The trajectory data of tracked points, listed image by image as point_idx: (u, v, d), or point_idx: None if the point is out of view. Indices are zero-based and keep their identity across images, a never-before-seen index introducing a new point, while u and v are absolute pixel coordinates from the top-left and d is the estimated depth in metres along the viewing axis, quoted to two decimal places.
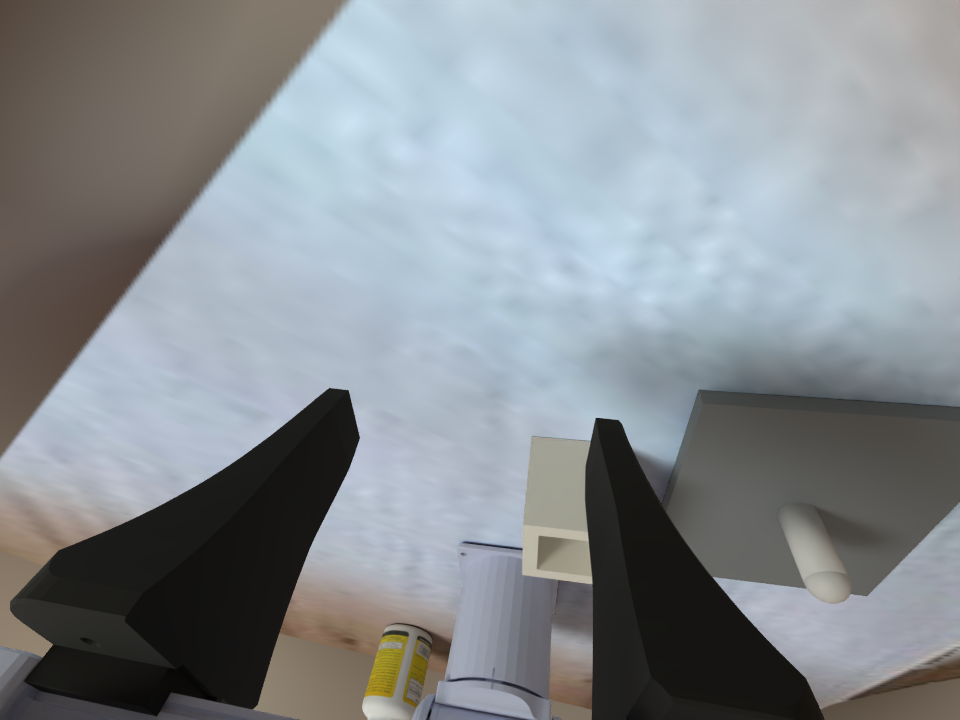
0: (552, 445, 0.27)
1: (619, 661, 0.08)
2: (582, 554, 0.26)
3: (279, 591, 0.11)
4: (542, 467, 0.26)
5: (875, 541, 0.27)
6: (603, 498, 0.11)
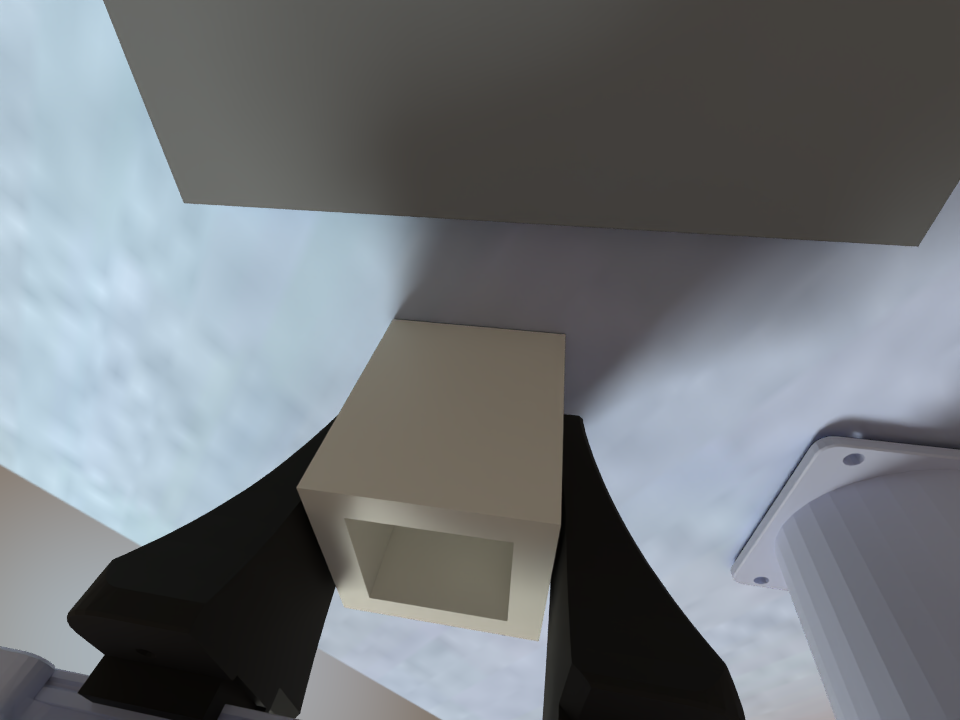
0: None
1: (558, 650, 0.08)
2: None
3: (320, 598, 0.11)
4: None
5: None
6: None
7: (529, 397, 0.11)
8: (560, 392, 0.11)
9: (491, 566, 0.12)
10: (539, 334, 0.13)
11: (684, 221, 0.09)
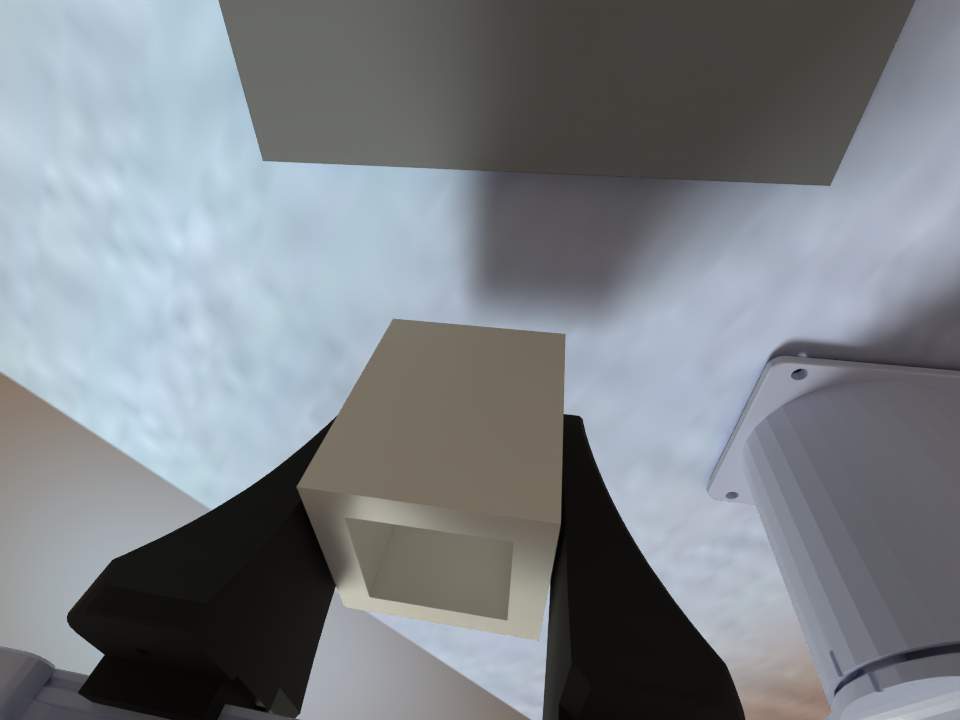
0: None
1: (558, 650, 0.08)
2: None
3: (320, 598, 0.11)
4: None
5: None
6: None
7: (529, 396, 0.11)
8: (560, 392, 0.11)
9: (491, 565, 0.12)
10: (539, 333, 0.13)
11: (655, 169, 0.12)
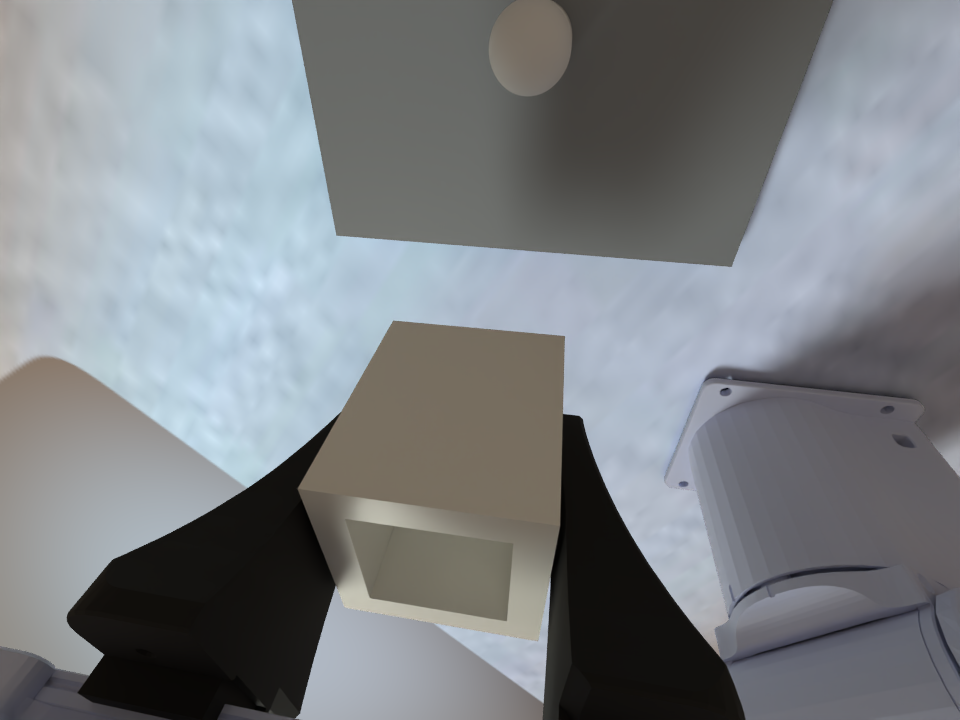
0: None
1: (558, 650, 0.08)
2: None
3: (320, 598, 0.11)
4: None
5: None
6: None
7: (529, 399, 0.11)
8: (559, 394, 0.11)
9: (491, 566, 0.12)
10: (538, 336, 0.13)
11: (613, 251, 0.18)
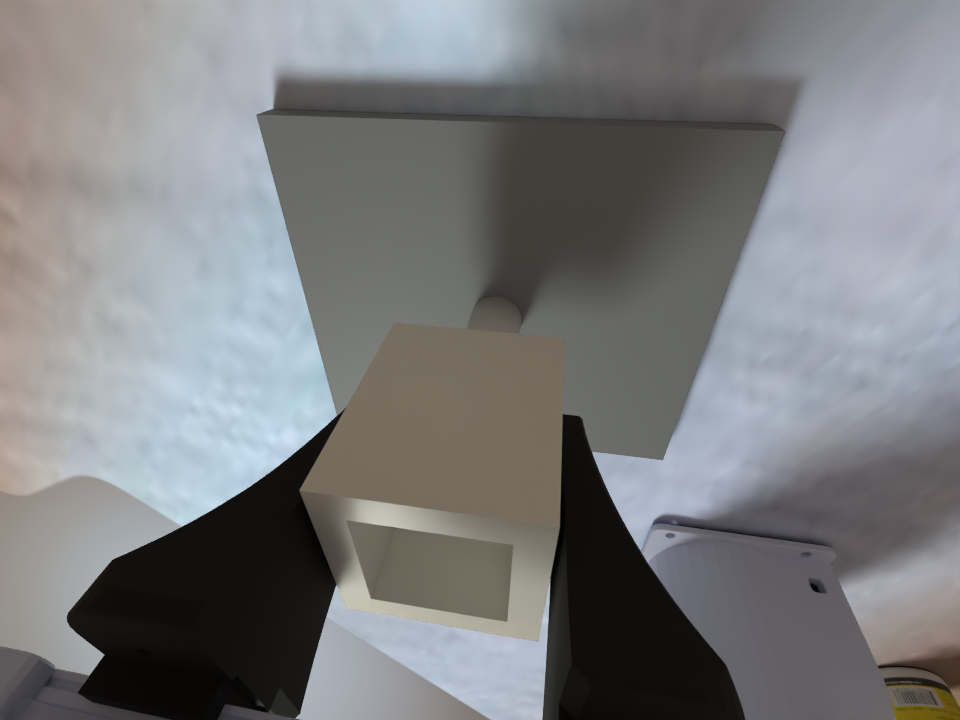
0: None
1: (558, 650, 0.08)
2: None
3: (320, 598, 0.11)
4: None
5: (556, 196, 0.15)
6: None
7: (529, 401, 0.11)
8: (559, 396, 0.11)
9: (491, 567, 0.12)
10: (538, 337, 0.13)
11: None
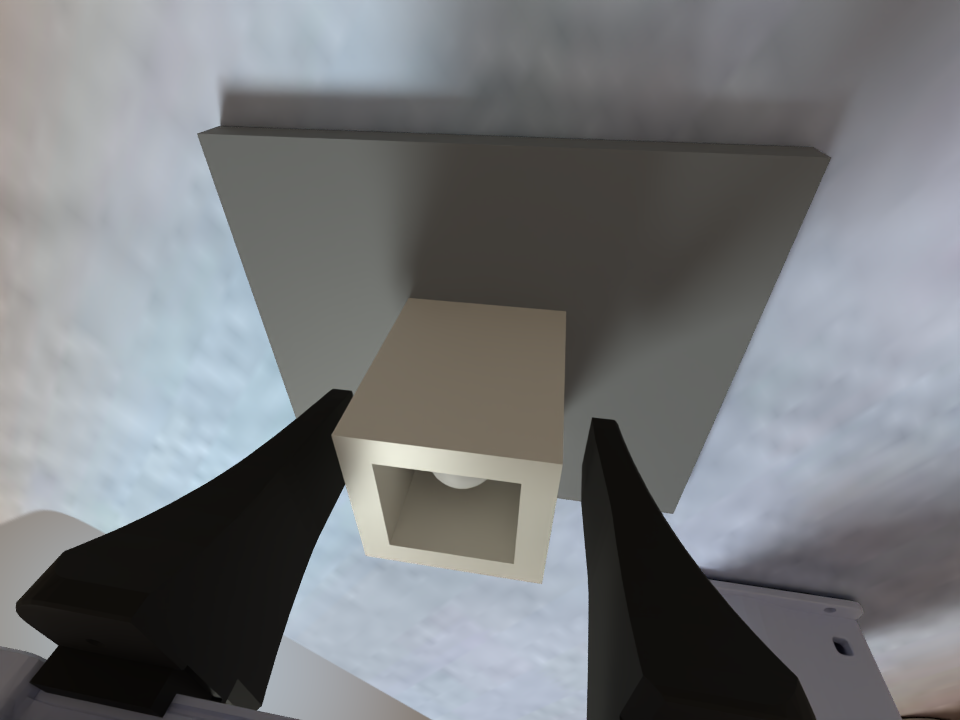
0: None
1: (613, 660, 0.08)
2: None
3: (283, 592, 0.11)
4: None
5: (553, 230, 0.13)
6: (598, 497, 0.11)
7: (534, 363, 0.12)
8: (561, 359, 0.12)
9: (499, 519, 0.13)
10: (542, 311, 0.14)
11: (565, 495, 0.19)
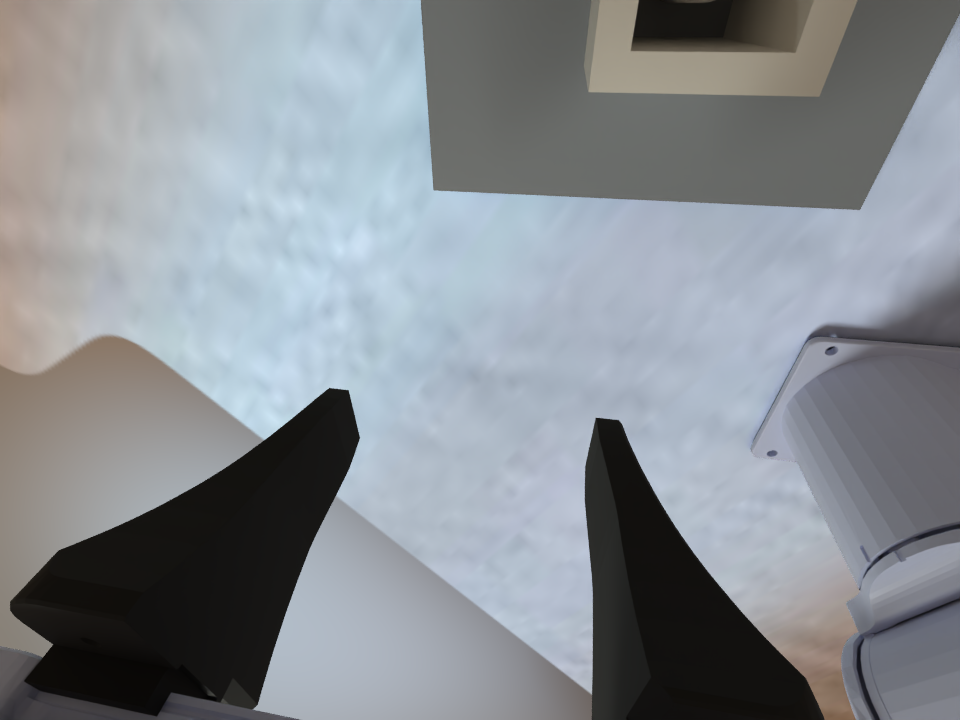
0: (589, 19, 0.14)
1: (619, 661, 0.08)
2: None
3: (279, 591, 0.11)
4: (589, 42, 0.13)
5: None
6: (603, 498, 0.11)
7: None
8: None
9: (749, 48, 0.11)
10: None
11: (732, 197, 0.17)
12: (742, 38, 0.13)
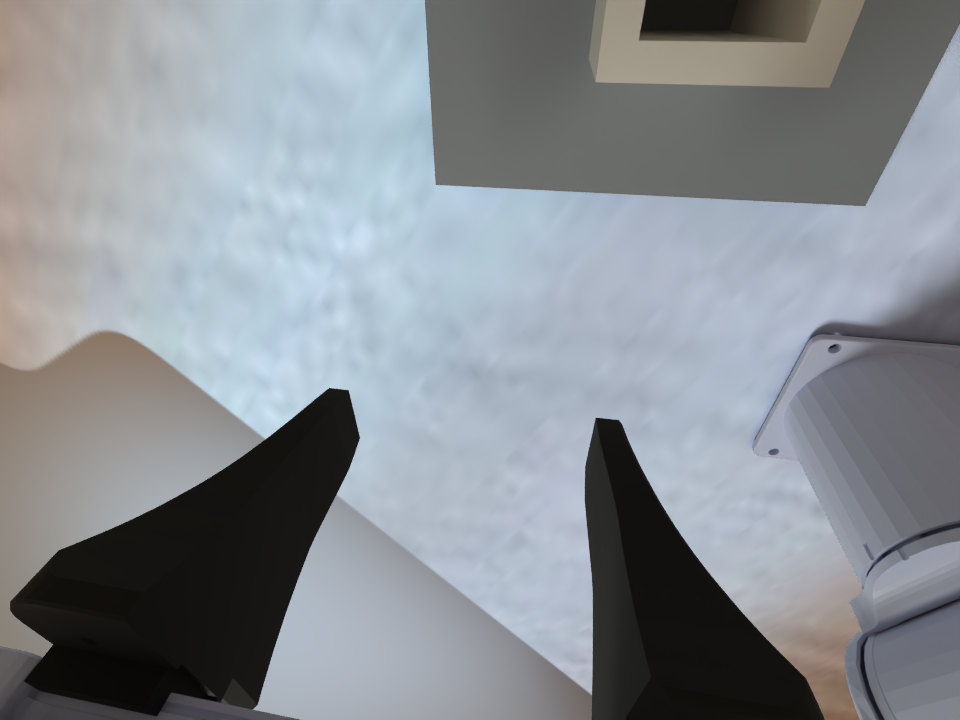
0: (595, 10, 0.14)
1: (619, 661, 0.08)
2: None
3: (279, 591, 0.11)
4: (594, 33, 0.13)
5: None
6: (603, 498, 0.11)
7: None
8: None
9: (758, 39, 0.11)
10: None
11: (736, 193, 0.17)
12: (749, 30, 0.13)
